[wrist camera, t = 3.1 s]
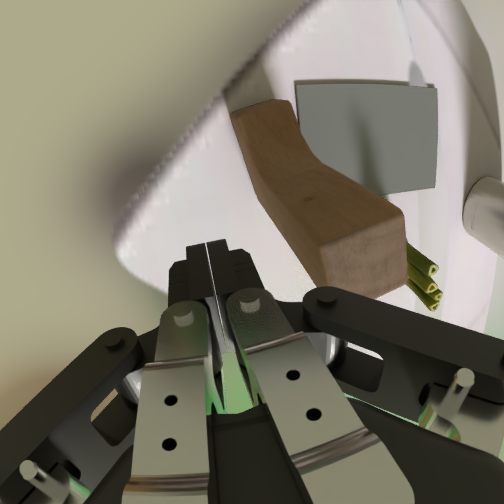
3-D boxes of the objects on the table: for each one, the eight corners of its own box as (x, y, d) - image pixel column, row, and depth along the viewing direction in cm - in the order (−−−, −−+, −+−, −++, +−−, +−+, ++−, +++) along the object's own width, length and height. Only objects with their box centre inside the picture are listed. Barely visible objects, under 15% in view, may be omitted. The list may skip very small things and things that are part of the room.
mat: (434, 88, 29) (437, 88, 28) (432, 186, 34) (435, 187, 34) (295, 85, 27) (296, 85, 26) (304, 205, 32) (305, 207, 32)
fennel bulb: (362, 212, 34) (429, 266, 24) (397, 213, 35) (465, 262, 25) (352, 259, 37) (409, 322, 26) (386, 257, 38) (445, 314, 27)
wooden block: (228, 113, 27) (292, 139, 11) (275, 98, 27) (393, 111, 11) (258, 201, 31) (335, 320, 16) (301, 186, 31) (410, 285, 16)
